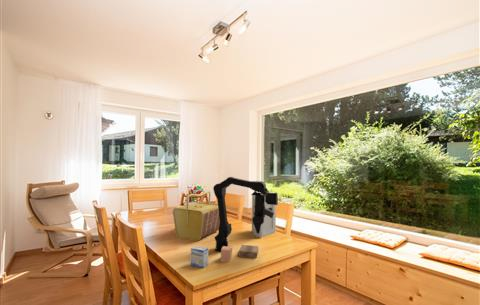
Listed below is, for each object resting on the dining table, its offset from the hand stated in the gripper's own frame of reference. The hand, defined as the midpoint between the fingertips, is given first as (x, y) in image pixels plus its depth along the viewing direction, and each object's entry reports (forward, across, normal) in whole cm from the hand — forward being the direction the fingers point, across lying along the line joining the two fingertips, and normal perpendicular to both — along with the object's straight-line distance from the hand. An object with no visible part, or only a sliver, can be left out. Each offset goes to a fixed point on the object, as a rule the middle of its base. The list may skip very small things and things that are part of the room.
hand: (258, 230), depth 135 cm
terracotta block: (+14, -10, +16) cm, 23 cm away
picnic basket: (+15, +29, +45) cm, 55 cm away
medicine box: (+14, -19, +28) cm, 37 cm away
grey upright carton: (+14, +41, +1) cm, 43 cm away
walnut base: (+14, 0, +5) cm, 15 cm away
